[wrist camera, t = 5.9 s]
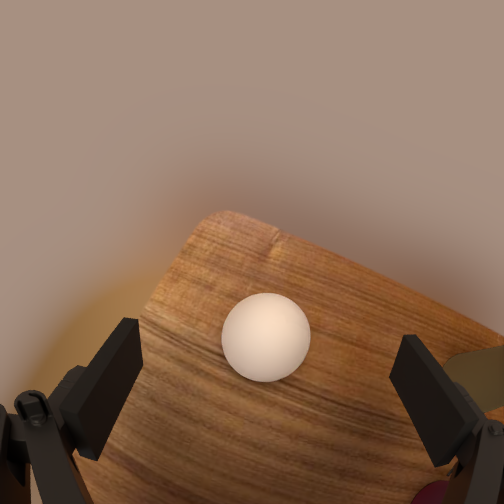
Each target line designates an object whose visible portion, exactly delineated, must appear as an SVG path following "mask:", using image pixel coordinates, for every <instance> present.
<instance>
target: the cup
mask: <svg viewBox="0 0 504 504" xmlns="http://www.w3.org/2000/svg"><path fill="white" fill-rule="evenodd" d="M448 484H449V481H436V482H433V483H431V484H429V485H428V486H426V487H425V488H423V489H422V490H421V491H420V492H419V493H418V494H417V495H416V497H415V498H414V500H413V501H412V503H411V504H441V503H442V500H443V497H444V495H445V492H446V489H447V487H448Z"/></svg>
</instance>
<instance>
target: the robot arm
mask: <svg viewBox="0 0 504 504" xmlns="http://www.w3.org/2000/svg"><path fill="white" fill-rule="evenodd" d="M142 367H143V358H142V350H141V342H140V333H139V323H138V319H131V318H125V317H124V318H123V319H122V320H121V322H120V323H119V324H118V326H117V327H116V328H115V330H114V331H113V332H112V333H111V335H110V336H109V337H108V339H107V340H106V341H105V343H104V344H103V346H102V347H101V348H100V350H99V351H98V352H97V354H96V355H95V356H94V358H93V359H92V361H91V362H90V363H89V365H88V366H87V367H83V366H79V365H77V366H76V367H74V368H73V369H71V370H69V371H68V372H67V374H66V375H65V376H64V378H63V380H61V382H60V383H59V384H58V386H57V387H56V388H55V390H54V391H53V392H52V394H51V395H50V396H49V398H48V399H46V397H45V395H44V394H43V393H41V392H39V391H36V390H28V391H25V392H22V393H21V394H20V395H18V397H17V398H16V399H15V402H14V407H15V408H16V411H17V413H18V415H16V414H8V413H7V412H6V410H5V408H4V406H3V405H1V404H0V504H31V490H30V464H31V465H32V469H33V473H34V477H35V480H36V483H37V487H38V490H39V493H40V496H41V499H42V502H43V504H94V502H93V500H92V498H91V496H90V494H89V492H88V490H87V488H86V485H85V483H84V481H83V479H82V476H81V474H80V472H79V469H78V467H77V464H76V462H75V459H74V457H73V455H72V454H73V452H74V450H75V448H76V449H77V451H78V453H79V455H80V456H82V457H85V458H88V459H91V460H94V461H98V459H99V457H100V455H101V452H102V450H103V448H104V446H105V444H106V441H107V439H108V437H109V435H110V433H111V431H112V428H113V426H114V424H115V422H116V420H117V418H118V416H119V414H120V412H121V409H122V407H123V405H124V403H125V401H126V399H127V397H128V395H129V393H130V391H131V389H132V387H133V385H134V383H135V381H136V379H137V377H138V375H139V373H140V371H141V369H142ZM389 378H390V380H391V382H392V384H393V386H394V387H395V389H396V391H397V393H398V395H399V397H400V399H401V401H402V403H403V405H404V406H405V408H406V410H407V412H408V414H409V416H410V418H411V420H412V422H413V424H414V426H415V428H416V430H417V432H418V434H419V436H420V438H421V440H422V442H423V444H424V446H425V448H426V450H427V452H428V454H429V456H430V459H431V461H432V463H433V465H434V467H439V466H443V465H446V464H449V463H450V461H451V460H452V459H453V457H454V456H455V455H456V456H457V458H458V461H457V462H456V464H455V465H454V466H453V468H452V469H451V470H450V471H449V473H448V474H447V476H449V475H450V474H451V473H452V475H451V478H450V481H449V484H448V487H447V489H446V492H445V495H444V497H443V500H442V503H441V504H504V425H503V424H502V423H501V422H499V421H497V420H488V419H487V418H486V416H485V415H484V413H483V412H482V411H481V409H480V408H479V407H478V405H477V404H476V402H475V401H474V400H473V398H472V397H471V396H469V395H470V394H469V393H468V392H467V390H466V389H465V388H464V387H463V386H462V385H460V384H459V383H457V382H452V380H451V379H450V378H449V376H448V375H447V374H446V372H445V371H444V370H443V368H442V367H441V366H440V364H439V363H438V362H437V361H436V359H435V358H434V357H433V355H432V354H431V353H430V352H429V350H428V349H427V348H426V347H425V345H424V344H423V343H422V342H421V340H420V339H419V338H418V337H417V335H416V334H415V335H403V338H402V341H401V345H400V348H399V351H398V353H397V356H396V359H395V362H394V365H393V368H392V370H391V373H390V376H389Z"/></svg>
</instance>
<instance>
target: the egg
mask: <svg viewBox="0 0 504 504" xmlns="http://www.w3.org/2000/svg"><path fill="white" fill-rule="evenodd" d="M309 345H310V327H309V323H308V320H307V318H306V316H305V314H304V313H303V311H302V310H301V309H300V308H299V306H298V305H296V304H295V303H294V302H293V301H291V300H290V299H288V298H286V297H284V296H281V295H278V294H274V293H261V294H256V295H252V296H249V297H247V298H245V299H244V300H242V301H241V302H239V303H238V304H237V305H236V306H235V307H234V308H233V309H232V310H231V311H230V313H229V315H228V316H227V318H226V320H225V322H224V325H223V330H222V347H223V351H224V354H225V357H226V359H227V360H228V362H229V364H230V365H231V366H232V367H233V369H234V370H235V371H237V372H238V373H239V374H240V375H242V376H244V377H246V378H248V379H251V380H254V381H259V382H272V381H276V380H279V379H282V378H284V377H287V376H288V375H290V374H291V373H292V372H294V371H295V370H296V369H297V368H298V367H299V366H300V364H301V363H302V362H303V360H304V359H305V357H306V354H307V352H308V349H309Z"/></svg>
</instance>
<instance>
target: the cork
mask: <svg viewBox="0 0 504 504" xmlns="http://www.w3.org/2000/svg"><path fill="white" fill-rule="evenodd" d="M443 370H444V371H445V372H446V374H447V375H448V376H449V378H450V379H451V380H452V382H457V383H459V384H460V385H462V386H463V387H464V388H465V389H466V390H467V392H468V393H469V394H470V395H469V396H471V397H472V398H473V400H474V401H475V402H476V404H477V405H478V407H479V408H480V409H481V411H482V412H483V413H485V412H488V411H491V410H494V409H497V408H499V407H502V406H504V345H502V346H498V347H493V348H488V349H483V350H478V351H473V352H467V353H461V354H457V355H455V356H453V357H451V358H450V359H449V360H448V361H447V362H446V364H445V365H444V366H443Z"/></svg>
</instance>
